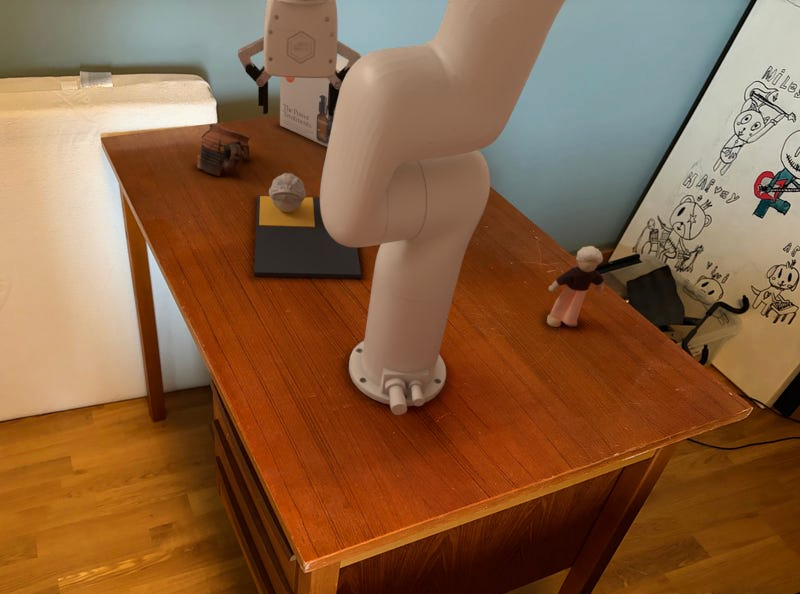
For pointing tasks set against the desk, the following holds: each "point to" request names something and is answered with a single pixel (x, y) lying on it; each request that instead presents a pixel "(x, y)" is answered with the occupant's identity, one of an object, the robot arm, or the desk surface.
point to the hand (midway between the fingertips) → (298, 111)
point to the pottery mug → (231, 155)
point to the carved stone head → (287, 192)
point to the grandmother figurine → (575, 287)
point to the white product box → (307, 105)
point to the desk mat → (299, 244)
